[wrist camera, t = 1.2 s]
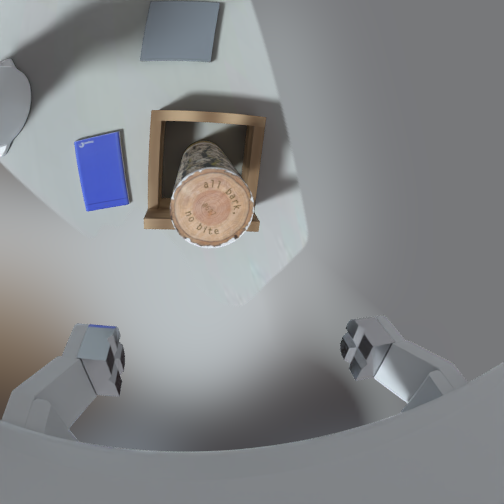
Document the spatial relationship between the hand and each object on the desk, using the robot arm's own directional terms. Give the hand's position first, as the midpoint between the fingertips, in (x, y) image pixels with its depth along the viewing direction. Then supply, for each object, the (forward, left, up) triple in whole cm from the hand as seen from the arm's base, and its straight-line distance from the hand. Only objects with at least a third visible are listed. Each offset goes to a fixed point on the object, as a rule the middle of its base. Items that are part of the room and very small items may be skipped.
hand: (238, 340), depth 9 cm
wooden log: (0, 0, -40) cm, 40 cm away
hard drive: (-17, -2, -41) cm, 44 cm away
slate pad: (-6, +22, -40) cm, 46 cm away
